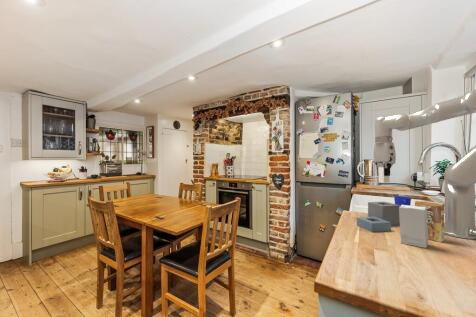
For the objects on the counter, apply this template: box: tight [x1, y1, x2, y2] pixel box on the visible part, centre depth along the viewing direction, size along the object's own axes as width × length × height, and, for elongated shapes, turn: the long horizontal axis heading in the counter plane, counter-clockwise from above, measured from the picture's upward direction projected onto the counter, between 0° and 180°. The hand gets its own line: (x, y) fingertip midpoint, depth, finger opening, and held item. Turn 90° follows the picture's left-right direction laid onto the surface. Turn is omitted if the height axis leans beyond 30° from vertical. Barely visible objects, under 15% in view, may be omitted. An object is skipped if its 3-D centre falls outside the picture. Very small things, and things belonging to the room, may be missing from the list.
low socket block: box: [356, 216, 392, 233], centre depth 107 cm, size 10×10×4 cm
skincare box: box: [399, 205, 429, 249], centre depth 87 cm, size 8×6×15 cm
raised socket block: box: [367, 201, 400, 227], centre depth 116 cm, size 10×10×10 cm
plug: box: [377, 162, 391, 184], centre depth 115 cm, size 3×3×10 cm
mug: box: [393, 195, 412, 206], centre depth 132 cm, size 8×12×10 cm
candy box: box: [414, 199, 446, 243], centre depth 93 cm, size 9×4×15 cm, turn 33°
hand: (383, 175), depth 115 cm, fingers closed on plug, 3 cm apart
